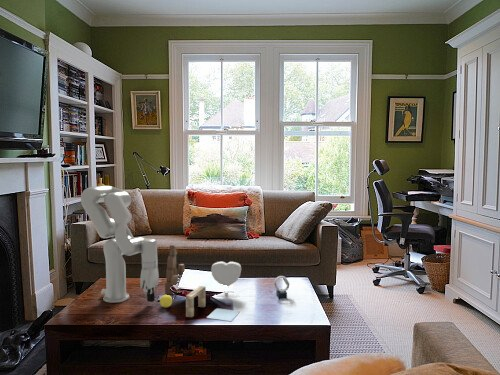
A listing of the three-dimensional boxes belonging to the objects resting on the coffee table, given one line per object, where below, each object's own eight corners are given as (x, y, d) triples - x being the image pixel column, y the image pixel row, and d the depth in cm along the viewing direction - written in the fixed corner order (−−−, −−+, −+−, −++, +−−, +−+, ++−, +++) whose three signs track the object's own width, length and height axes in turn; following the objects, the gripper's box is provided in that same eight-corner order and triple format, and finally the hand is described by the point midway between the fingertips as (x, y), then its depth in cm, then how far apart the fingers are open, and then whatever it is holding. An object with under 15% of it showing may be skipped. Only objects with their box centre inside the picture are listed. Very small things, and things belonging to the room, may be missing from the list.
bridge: (186, 316, 183) (185, 295, 182) (200, 305, 197) (199, 285, 196) (191, 317, 182) (191, 296, 181) (205, 305, 196) (205, 286, 196)
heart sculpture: (211, 297, 208) (210, 263, 207) (212, 294, 213) (212, 261, 212) (240, 297, 208) (240, 263, 207) (241, 294, 213) (241, 261, 212)
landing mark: (206, 318, 181) (206, 317, 181) (216, 308, 193) (216, 308, 193) (231, 321, 178) (231, 321, 178) (240, 311, 189) (240, 311, 189)
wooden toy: (177, 295, 212) (176, 248, 210) (164, 294, 213) (164, 248, 211) (185, 285, 227) (185, 242, 225) (173, 285, 228) (173, 242, 226)
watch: (290, 298, 207) (290, 277, 207) (275, 299, 206) (275, 278, 205) (287, 294, 213) (288, 274, 212) (273, 295, 212) (273, 275, 211)
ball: (157, 308, 193) (157, 296, 192) (163, 304, 198) (163, 292, 198) (168, 310, 191) (168, 297, 190) (174, 305, 196) (174, 293, 196)
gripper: (151, 260, 204) (152, 295, 205) (134, 267, 190) (135, 305, 191) (164, 261, 202) (165, 296, 203) (148, 268, 187) (149, 307, 189)
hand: (150, 301), depth 197 cm, fingers closed
